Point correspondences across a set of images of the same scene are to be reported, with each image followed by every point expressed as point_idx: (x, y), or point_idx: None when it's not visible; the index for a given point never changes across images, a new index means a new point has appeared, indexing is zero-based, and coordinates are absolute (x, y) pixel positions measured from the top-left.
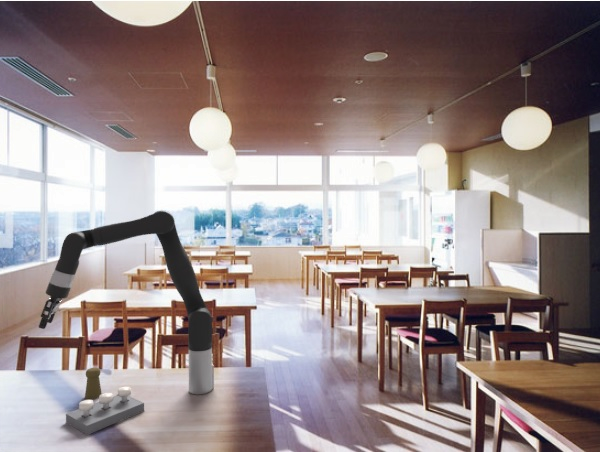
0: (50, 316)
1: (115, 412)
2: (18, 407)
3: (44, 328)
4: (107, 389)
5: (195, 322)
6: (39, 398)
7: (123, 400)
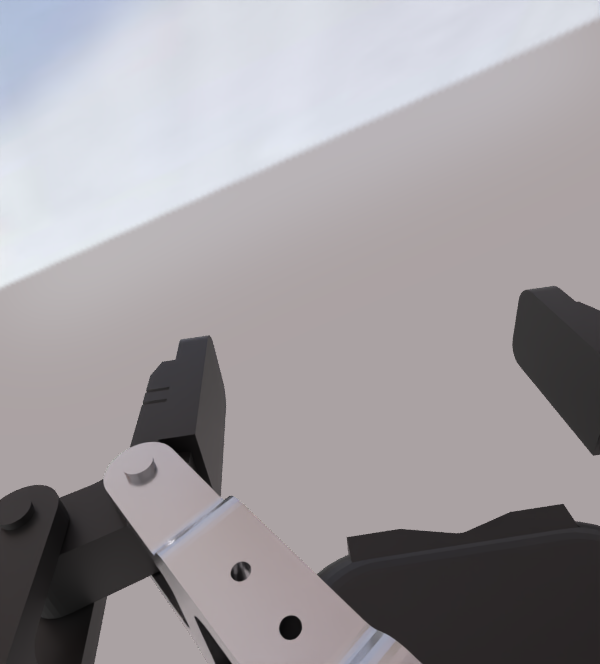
0: (209, 428)
1: None
2: (265, 119)
3: (551, 288)
4: None
5: None
6: (166, 64)
7: None
